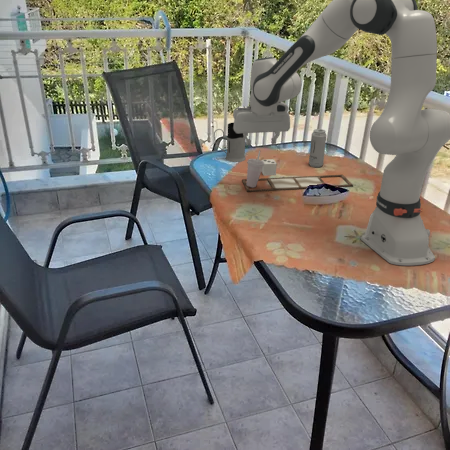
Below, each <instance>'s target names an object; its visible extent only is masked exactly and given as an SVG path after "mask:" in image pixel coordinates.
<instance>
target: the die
mask: <svg viewBox="0 0 450 450" xmlns="http://www.w3.org/2000/svg"><path fill="white" fill-rule="evenodd" d="M260 160H261V161H263V162H264V166H263V168H262V171H261V175H263V176H264V177H265V176H276V175H277V164H278V163H277V162H276V160H275V159H260Z"/></svg>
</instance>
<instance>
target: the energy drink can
mask: <svg viewBox="0 0 450 450" xmlns="http://www.w3.org/2000/svg"><path fill="white" fill-rule="evenodd" d="M326 143H327V133H326V130H325V129H321V128H316V129H315V128H314V130H313V132H312V133H311V138H310V149H309V158H308V164H309V166H311V167H312V168H321V167H322V166H323V165H324V161H325V152H326V151H325V150H326Z"/></svg>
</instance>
